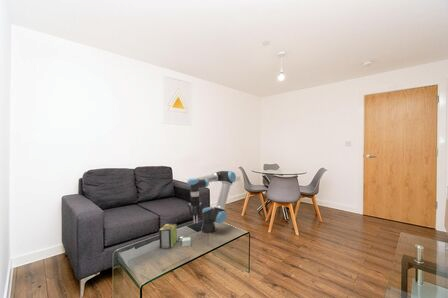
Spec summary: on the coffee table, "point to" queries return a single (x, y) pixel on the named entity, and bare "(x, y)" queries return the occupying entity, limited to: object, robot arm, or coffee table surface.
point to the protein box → (168, 235)
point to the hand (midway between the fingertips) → (195, 222)
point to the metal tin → (180, 238)
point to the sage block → (186, 241)
